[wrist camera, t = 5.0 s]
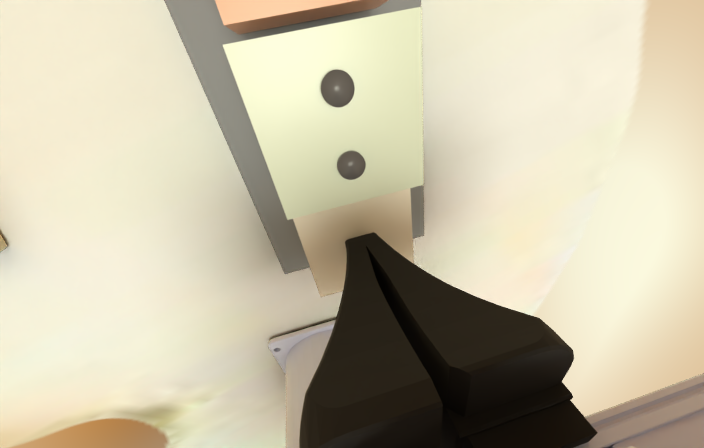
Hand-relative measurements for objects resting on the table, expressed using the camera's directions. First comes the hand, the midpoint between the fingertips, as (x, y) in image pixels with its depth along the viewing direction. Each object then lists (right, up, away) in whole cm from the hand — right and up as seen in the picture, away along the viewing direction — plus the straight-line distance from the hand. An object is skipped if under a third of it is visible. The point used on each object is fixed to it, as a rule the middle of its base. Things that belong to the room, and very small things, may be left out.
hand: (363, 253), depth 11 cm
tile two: (-1, +5, -2) cm, 6 cm away
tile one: (-1, +2, +2) cm, 3 cm away
